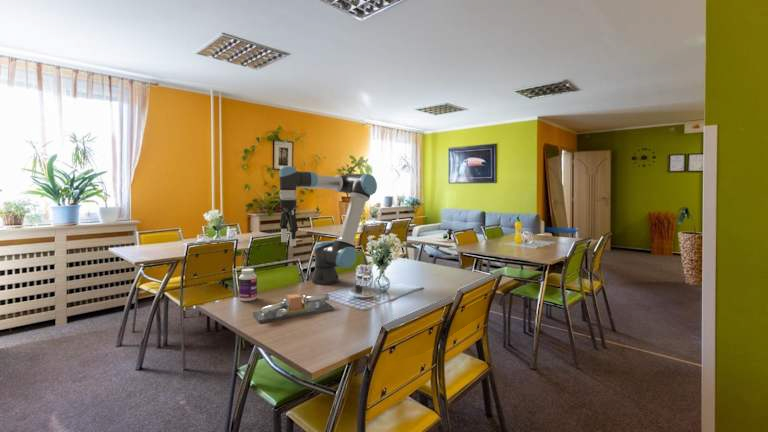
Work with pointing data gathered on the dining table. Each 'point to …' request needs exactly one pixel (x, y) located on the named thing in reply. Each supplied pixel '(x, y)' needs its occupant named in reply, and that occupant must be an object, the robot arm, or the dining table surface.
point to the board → (294, 312)
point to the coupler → (294, 301)
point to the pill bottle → (247, 285)
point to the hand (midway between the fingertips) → (288, 244)
